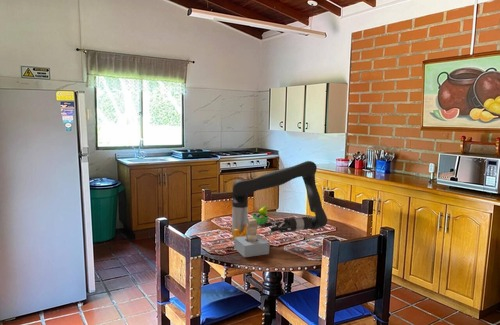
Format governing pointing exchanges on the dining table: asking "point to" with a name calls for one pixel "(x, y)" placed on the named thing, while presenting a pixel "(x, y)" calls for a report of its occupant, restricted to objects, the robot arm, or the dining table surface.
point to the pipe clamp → (236, 232)
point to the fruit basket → (261, 216)
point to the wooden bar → (251, 230)
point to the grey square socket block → (251, 246)
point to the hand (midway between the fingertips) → (267, 227)
